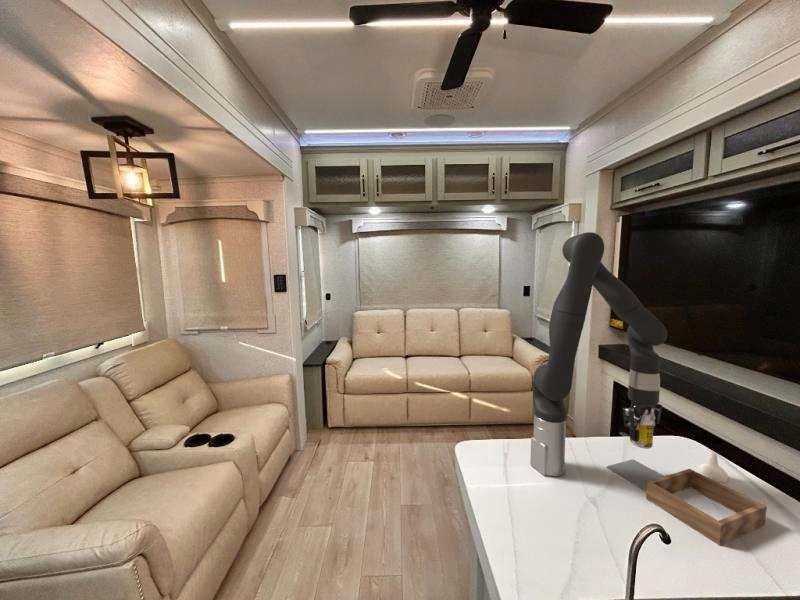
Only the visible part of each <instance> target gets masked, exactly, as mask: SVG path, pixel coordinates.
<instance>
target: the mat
mask: <svg viewBox="0 0 800 600" xmlns="http://www.w3.org/2000/svg"><path fill="white" fill-rule="evenodd" d="M606 468H607V469H608V470H610V471H612V472H614V473H615V474H616V475H619V476H620V477H622V478H623V479H625V480H626V481H628V482H630V483H631V484H632V485H635V486H636V487H637V488H640V489H641V490H642V491H644V492H646V490H647V481H651V480H654V479H657V478H661V477H664V476H665V475H663V474H661V473H659V472H658V471H656V470H654V469H652V468H650V467H649V466H646V465H645V464H643V463H641V462H639V461H637V460H636V459H633V458H632V459H628V460H625V461H622V462H618V463H613V464H610V465H607V466H606Z"/></svg>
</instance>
